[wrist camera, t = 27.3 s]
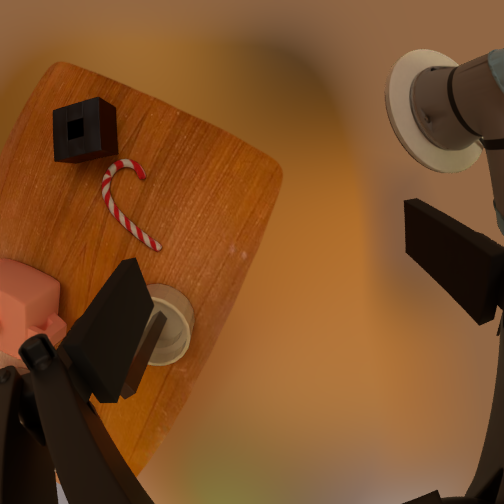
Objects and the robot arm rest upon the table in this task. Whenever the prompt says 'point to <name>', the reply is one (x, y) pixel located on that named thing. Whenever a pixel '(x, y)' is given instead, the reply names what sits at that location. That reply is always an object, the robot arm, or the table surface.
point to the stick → (143, 354)
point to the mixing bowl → (171, 324)
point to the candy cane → (114, 208)
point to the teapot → (27, 306)
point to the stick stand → (85, 131)
